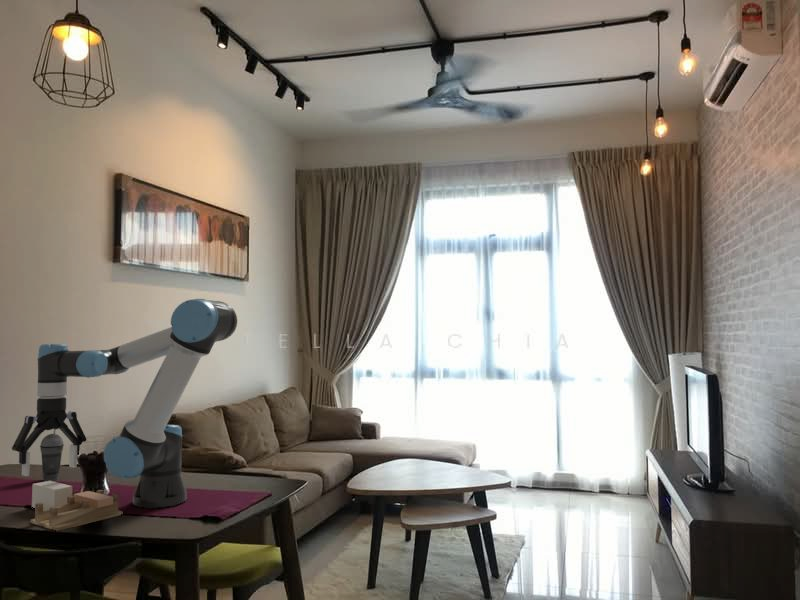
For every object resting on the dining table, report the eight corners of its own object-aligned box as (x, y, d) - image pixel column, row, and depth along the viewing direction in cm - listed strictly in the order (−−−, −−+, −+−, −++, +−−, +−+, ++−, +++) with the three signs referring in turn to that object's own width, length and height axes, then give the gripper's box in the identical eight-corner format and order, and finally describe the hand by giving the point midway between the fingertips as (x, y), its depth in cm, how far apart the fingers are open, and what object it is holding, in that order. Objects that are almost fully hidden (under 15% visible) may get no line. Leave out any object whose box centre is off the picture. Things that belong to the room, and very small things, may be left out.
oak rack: (122, 514, 179) (123, 495, 180) (57, 531, 164) (57, 509, 164) (95, 507, 187) (96, 488, 187) (30, 522, 171) (31, 502, 171)
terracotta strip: (113, 504, 178) (113, 496, 178) (98, 507, 174) (98, 500, 174) (88, 498, 184) (88, 490, 184) (73, 501, 180) (73, 494, 181)
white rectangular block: (71, 511, 183) (72, 486, 183) (54, 515, 179) (54, 489, 179) (49, 504, 190) (50, 480, 190) (31, 508, 186) (32, 483, 186)
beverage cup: (48, 477, 225) (50, 419, 226) (67, 477, 224) (69, 419, 225) (33, 481, 218) (35, 422, 219) (53, 482, 217) (55, 422, 218)
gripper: (85, 393, 199) (84, 462, 198) (-1, 400, 179) (-3, 477, 178) (99, 394, 195) (98, 465, 194) (13, 401, 175) (10, 480, 173)
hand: (49, 471), depth 186 cm, fingers open, 13 cm apart
